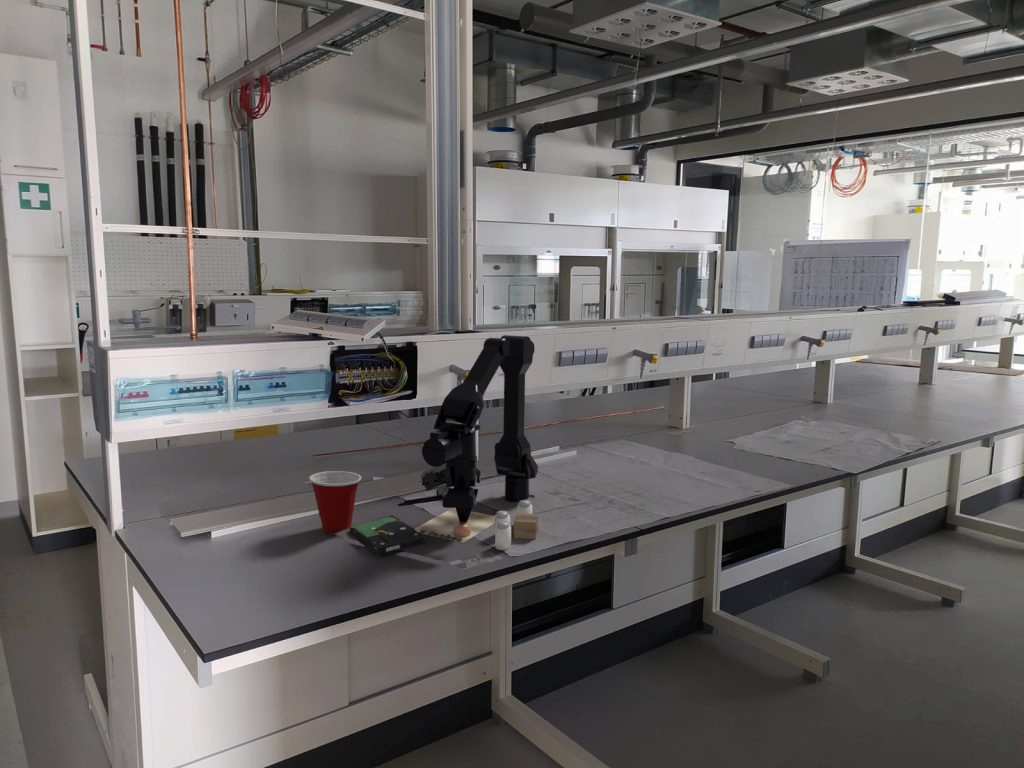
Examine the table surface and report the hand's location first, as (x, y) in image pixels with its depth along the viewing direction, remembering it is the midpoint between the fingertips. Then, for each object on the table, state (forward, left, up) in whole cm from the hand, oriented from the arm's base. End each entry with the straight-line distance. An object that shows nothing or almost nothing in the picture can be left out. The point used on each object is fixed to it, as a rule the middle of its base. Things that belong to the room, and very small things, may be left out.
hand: (463, 525), depth 153 cm
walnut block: (-4, +13, -2) cm, 14 cm away
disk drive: (+11, -12, -2) cm, 16 cm away
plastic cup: (+11, -25, -2) cm, 27 cm away
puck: (+2, +1, -1) cm, 3 cm away
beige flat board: (-2, -3, -2) cm, 4 cm away
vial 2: (+4, +12, -2) cm, 13 cm away
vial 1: (-1, +9, -2) cm, 9 cm away
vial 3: (-9, +10, -2) cm, 14 cm away
